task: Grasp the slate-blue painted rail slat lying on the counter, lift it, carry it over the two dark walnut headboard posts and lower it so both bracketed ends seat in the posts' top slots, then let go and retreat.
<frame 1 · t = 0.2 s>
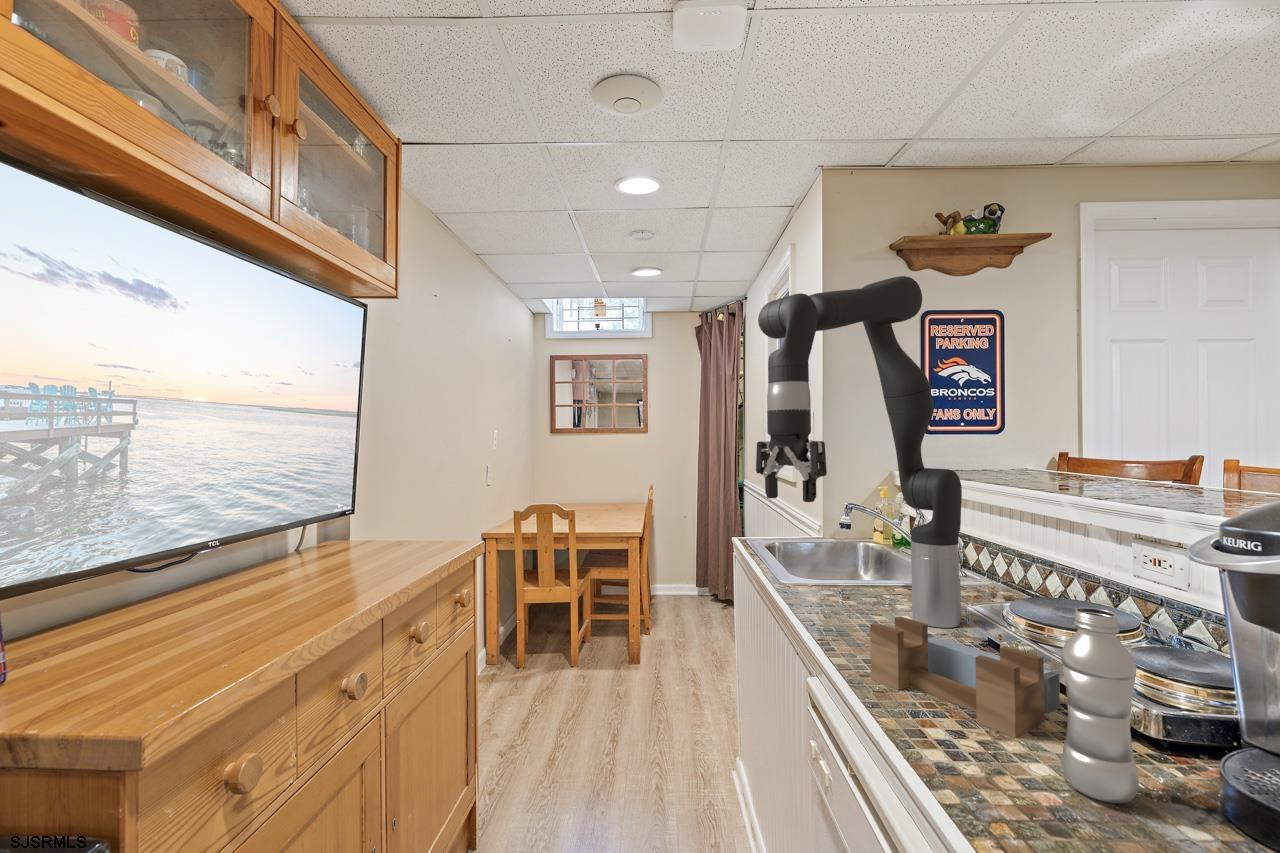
hand: (789, 499, 101), 29 cm above the worktop, fingers open, 8 cm apart
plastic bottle: (1099, 795, 63), on the worktop
rail: (982, 686, 91), on the worktop
headboard posts: (950, 699, 87), on the worktop
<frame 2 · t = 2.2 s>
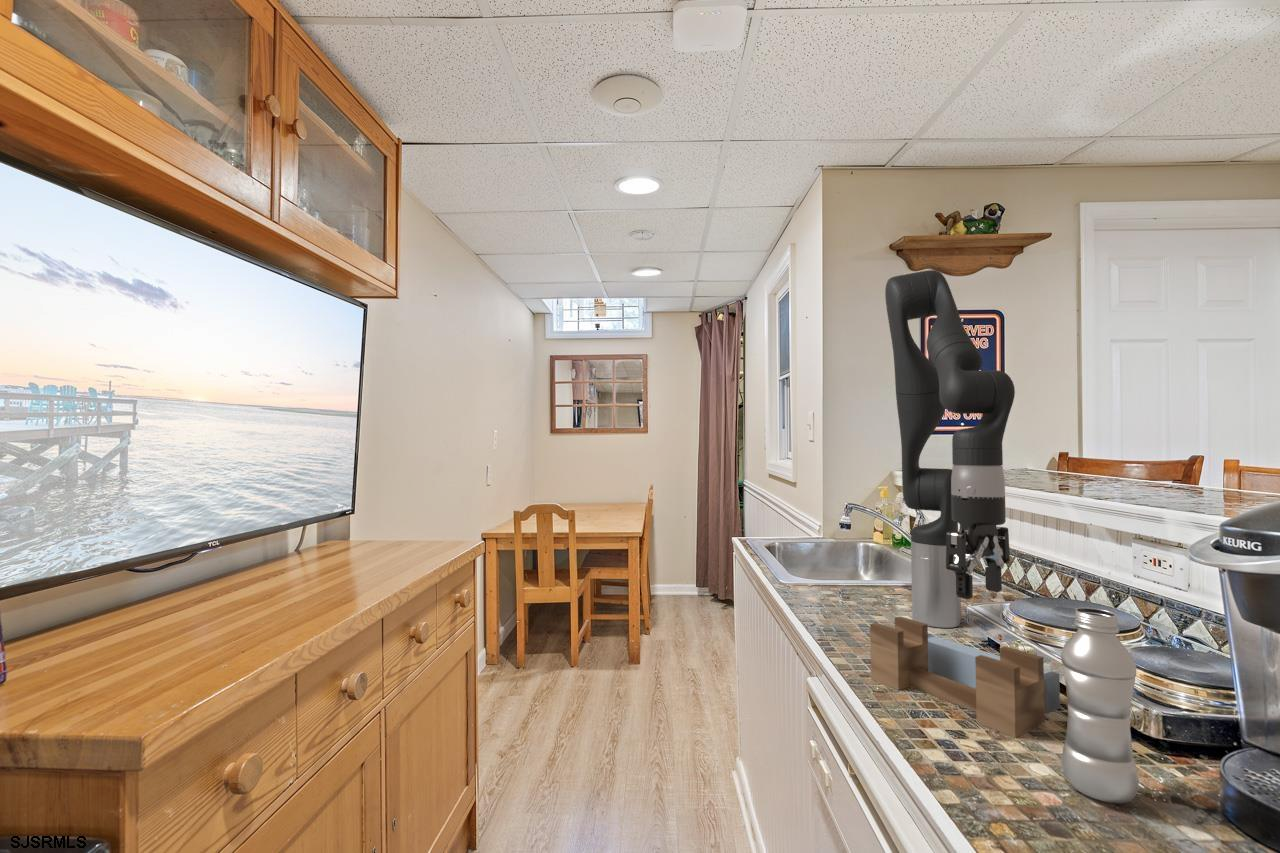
hand: (979, 594, 92), 15 cm above the worktop, fingers open, 8 cm apart
nothing on the worktop moved.
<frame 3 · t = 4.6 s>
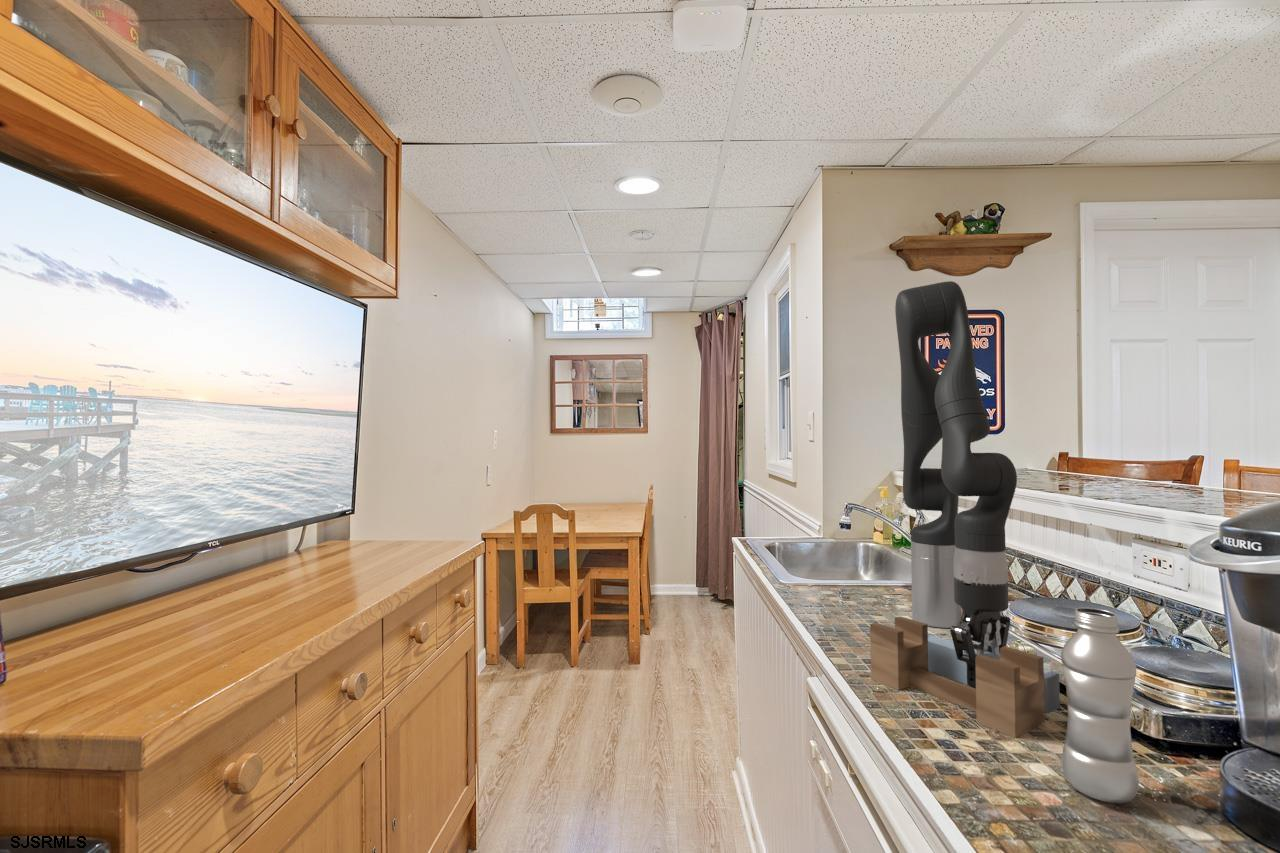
hand: (982, 684, 91), 0 cm above the worktop, fingers closed on rail, 3 cm apart
rail: (982, 685, 91), on the worktop, touching gripper
everything else where it was.
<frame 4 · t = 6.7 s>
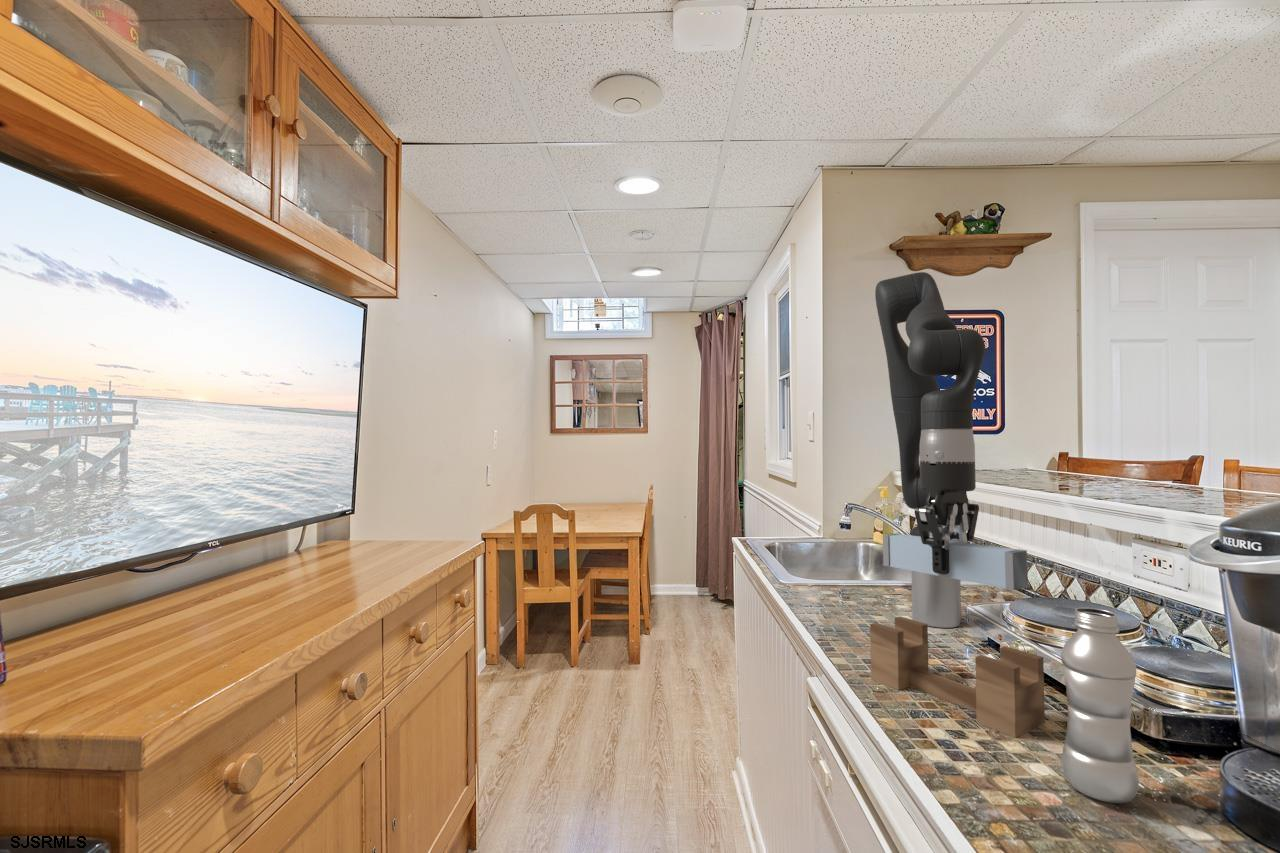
hand: (948, 571, 87), 19 cm above the worktop, fingers closed on rail, 3 cm apart
rail: (949, 575, 87), point 19 cm above the worktop, touching gripper
everything else where it was.
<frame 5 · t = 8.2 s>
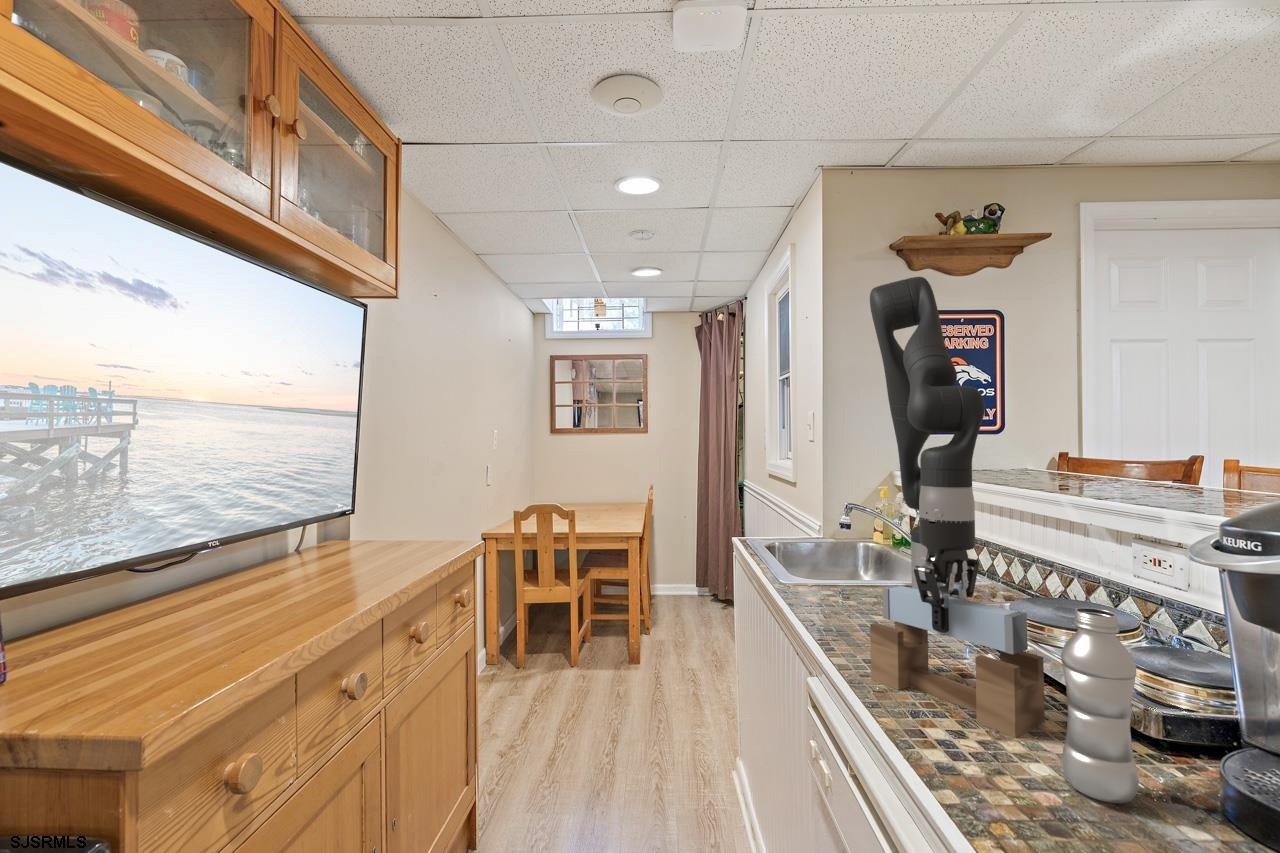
hand: (948, 628, 87), 11 cm above the worktop, fingers closed on rail, 3 cm apart
rail: (949, 632, 87), point 10 cm above the worktop, touching gripper
everything else where it was.
when the fingers open (8 cm above the worktop, at t = 9.1 s): rail drops 1 cm, resting on headboard posts.
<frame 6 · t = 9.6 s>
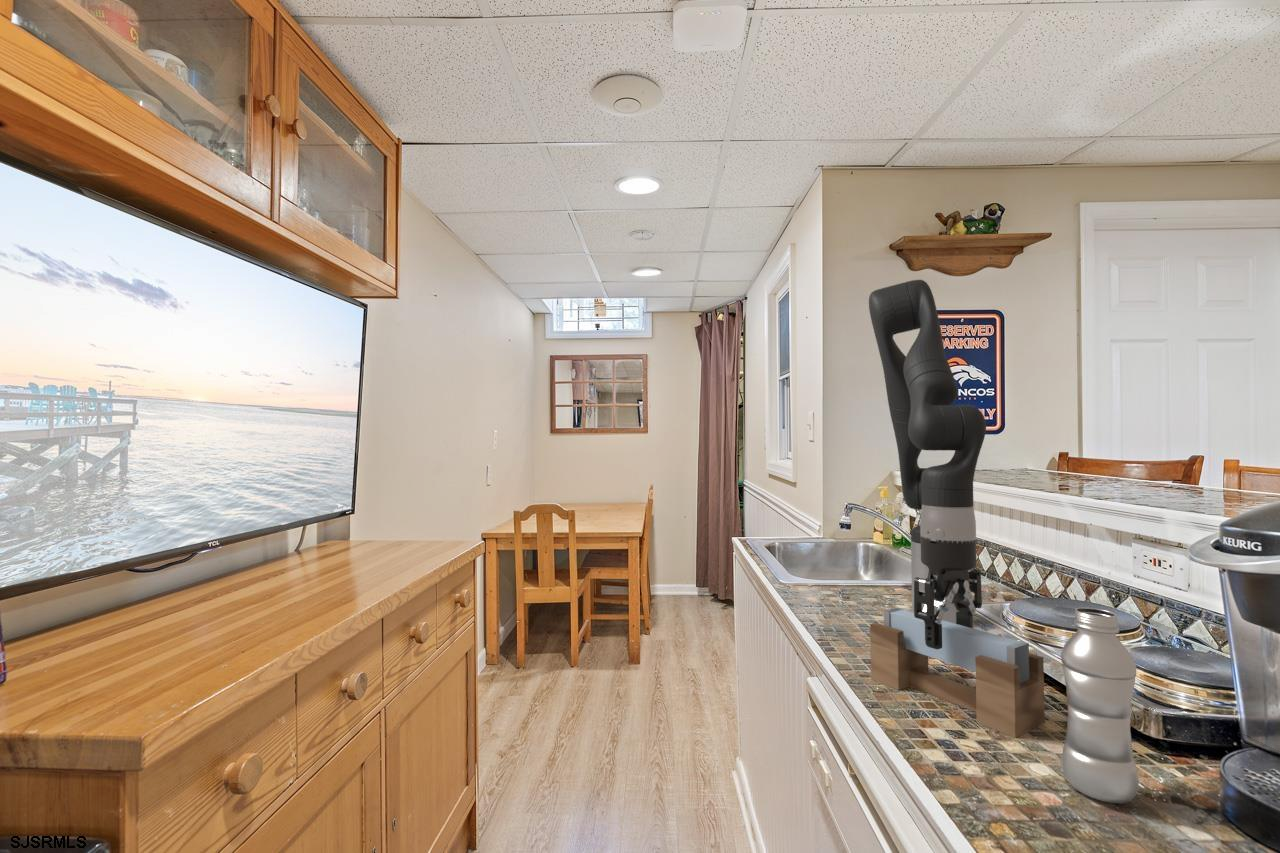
hand: (949, 642, 87), 9 cm above the worktop, fingers open, 8 cm apart
rail: (950, 659, 87), point 6 cm above the worktop, touching headboard posts
everything else where it was.
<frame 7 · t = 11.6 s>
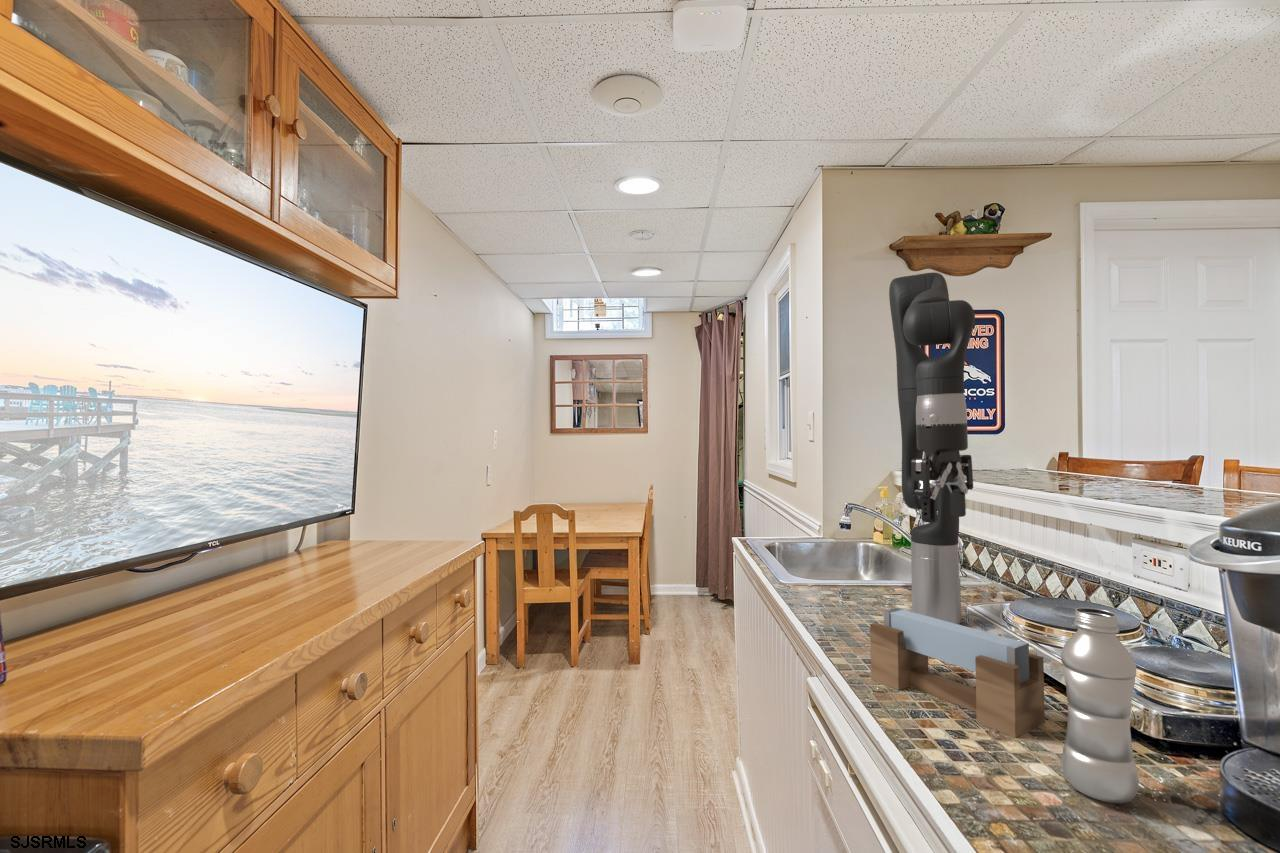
hand: (944, 519, 95), 26 cm above the worktop, fingers open, 8 cm apart
nothing on the worktop moved.
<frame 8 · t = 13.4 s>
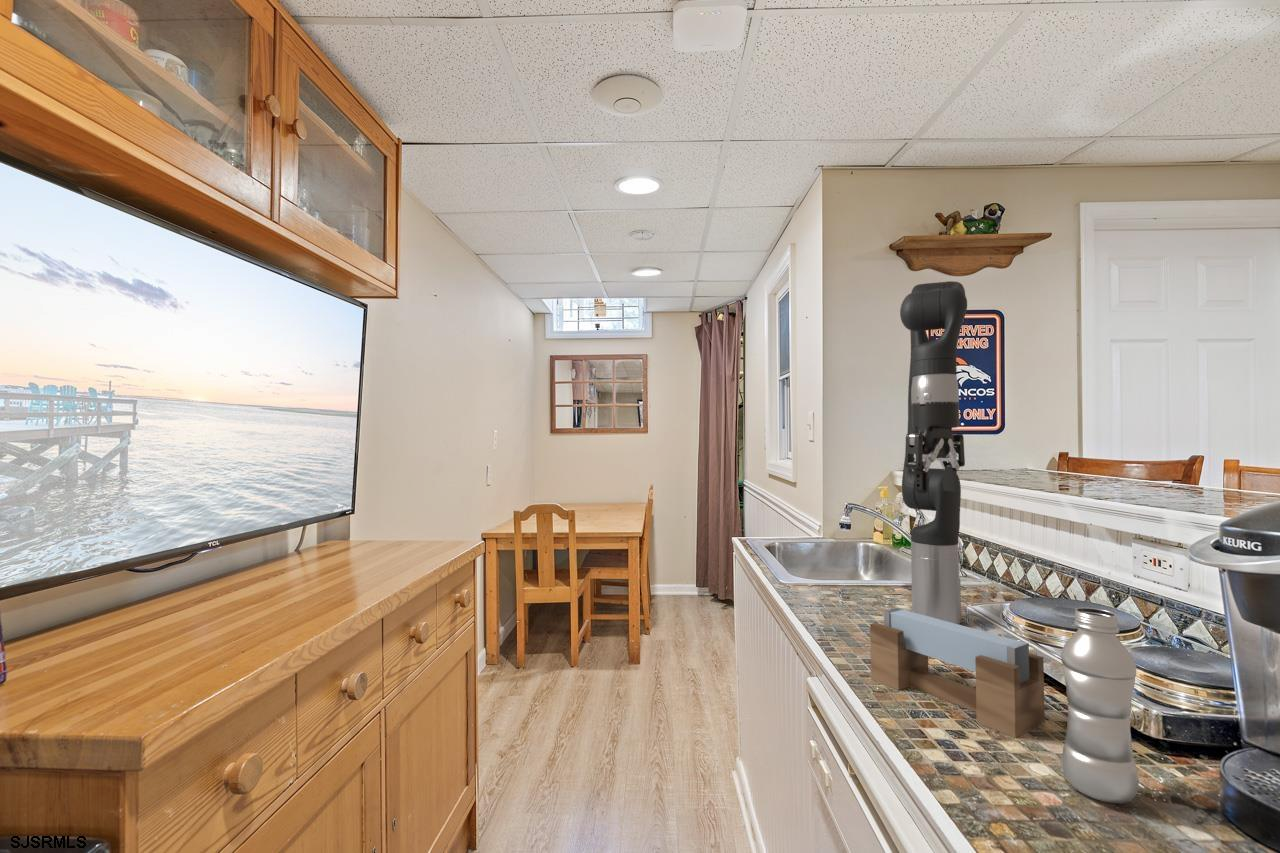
hand: (936, 492, 101), 30 cm above the worktop, fingers open, 8 cm apart
nothing on the worktop moved.
at the end: rail 0.1 cm off-centre on the headboard posts, point 6.0 cm above the headboard posts's base; rail tilted 0°; the gripper is holding nothing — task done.
